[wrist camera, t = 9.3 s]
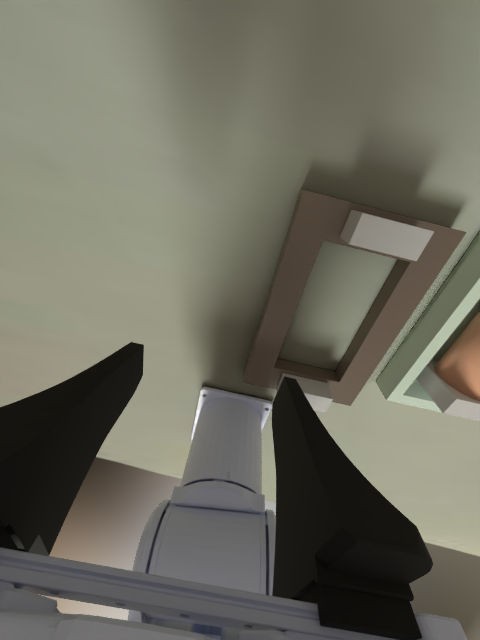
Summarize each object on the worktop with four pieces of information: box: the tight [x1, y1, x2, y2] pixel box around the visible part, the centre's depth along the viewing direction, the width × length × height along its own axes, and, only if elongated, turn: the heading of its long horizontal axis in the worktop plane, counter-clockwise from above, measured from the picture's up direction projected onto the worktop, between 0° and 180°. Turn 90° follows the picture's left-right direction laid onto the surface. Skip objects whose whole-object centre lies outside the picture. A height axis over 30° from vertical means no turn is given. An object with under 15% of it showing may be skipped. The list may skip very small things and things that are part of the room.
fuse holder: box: [243, 189, 466, 413], centre depth 20 cm, size 17×11×4 cm, turn 167°
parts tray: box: [376, 232, 480, 412], centre depth 20 cm, size 15×9×2 cm, turn 167°
